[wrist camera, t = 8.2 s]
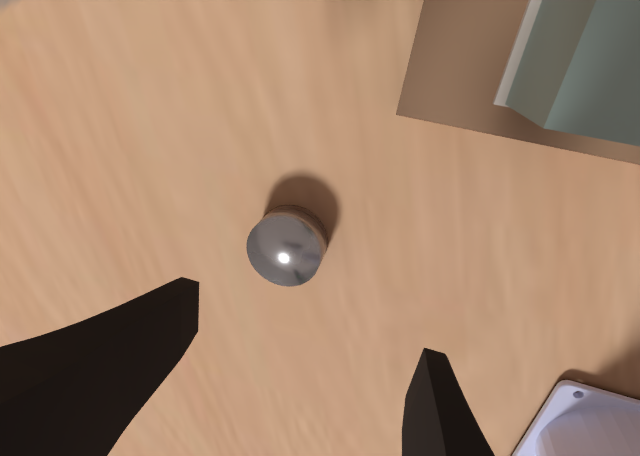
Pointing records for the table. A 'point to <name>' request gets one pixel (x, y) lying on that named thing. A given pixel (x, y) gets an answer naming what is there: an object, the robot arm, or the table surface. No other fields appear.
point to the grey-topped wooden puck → (287, 245)
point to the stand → (482, 74)
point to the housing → (582, 70)
